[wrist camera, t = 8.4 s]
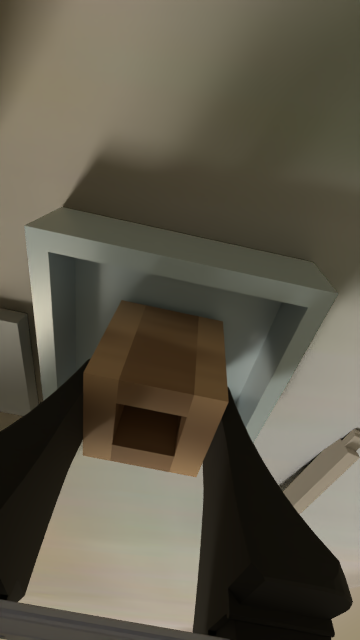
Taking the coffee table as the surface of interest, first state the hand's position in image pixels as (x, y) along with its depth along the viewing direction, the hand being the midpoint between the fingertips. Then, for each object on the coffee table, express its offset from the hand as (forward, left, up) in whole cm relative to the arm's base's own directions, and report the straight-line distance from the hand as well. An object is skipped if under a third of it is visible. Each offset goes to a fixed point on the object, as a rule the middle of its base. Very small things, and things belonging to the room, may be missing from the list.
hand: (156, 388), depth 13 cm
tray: (0, 0, -4) cm, 4 cm away
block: (0, 0, -3) cm, 3 cm away
